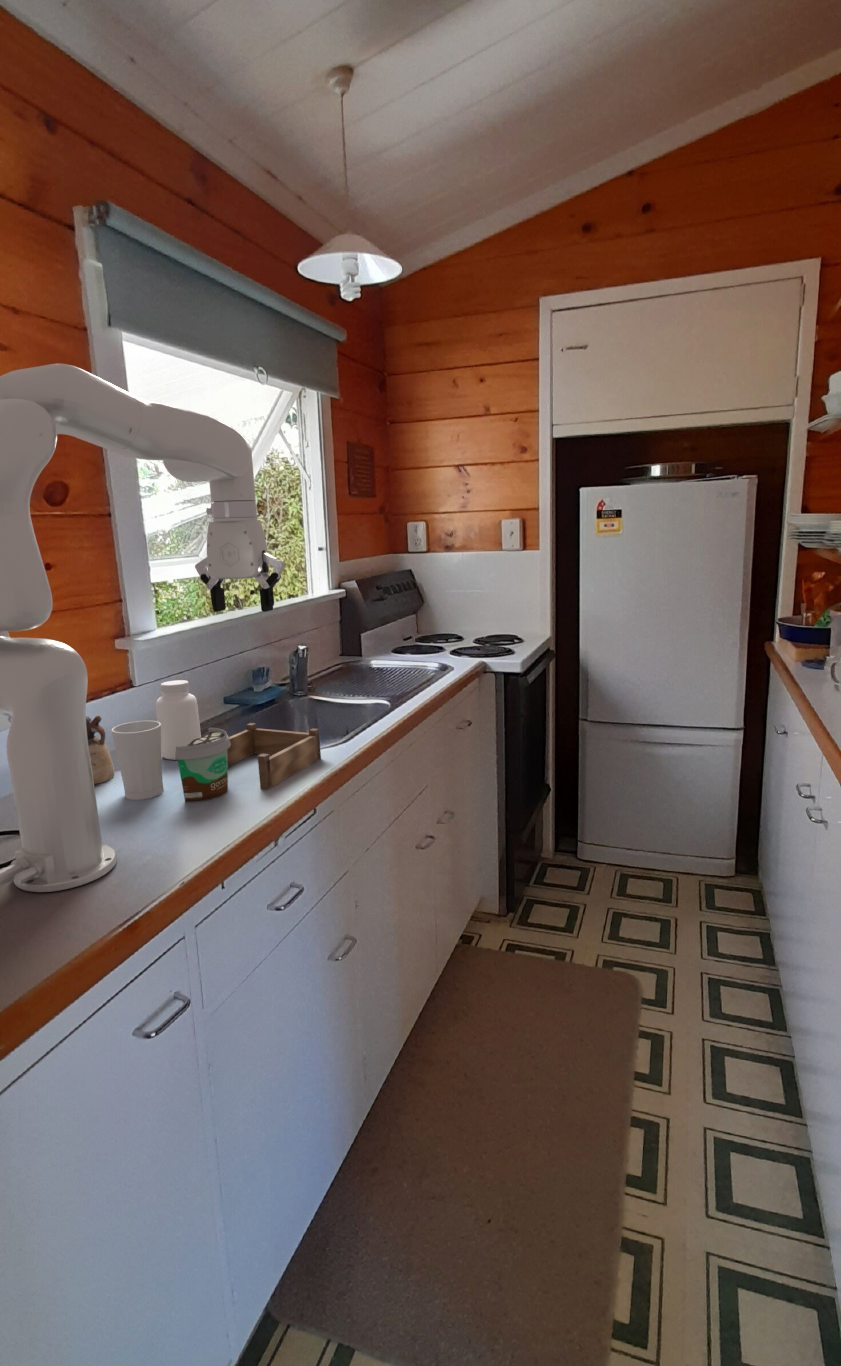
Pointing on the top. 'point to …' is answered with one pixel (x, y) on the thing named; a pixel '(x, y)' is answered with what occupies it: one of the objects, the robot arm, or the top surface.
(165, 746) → the pill bottle
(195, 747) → the food container
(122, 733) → the cup
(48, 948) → the top surface
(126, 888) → the top surface
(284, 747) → the crate
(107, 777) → the figurine
